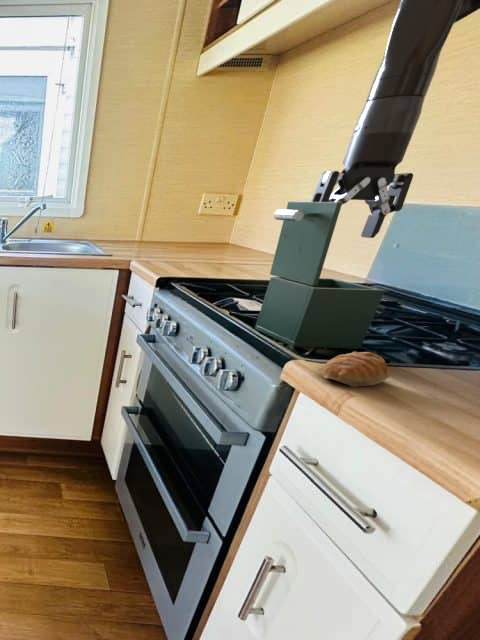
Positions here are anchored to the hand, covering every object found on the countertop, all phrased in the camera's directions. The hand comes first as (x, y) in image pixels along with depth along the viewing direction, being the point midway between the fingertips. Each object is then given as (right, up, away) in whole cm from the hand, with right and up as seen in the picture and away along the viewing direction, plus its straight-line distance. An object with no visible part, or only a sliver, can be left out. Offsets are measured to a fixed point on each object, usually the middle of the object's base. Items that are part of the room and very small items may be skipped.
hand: (343, 236), depth 76 cm
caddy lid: (-7, -1, 0) cm, 7 cm away
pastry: (-9, -26, -11) cm, 30 cm away
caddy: (-1, -17, +8) cm, 19 cm away
